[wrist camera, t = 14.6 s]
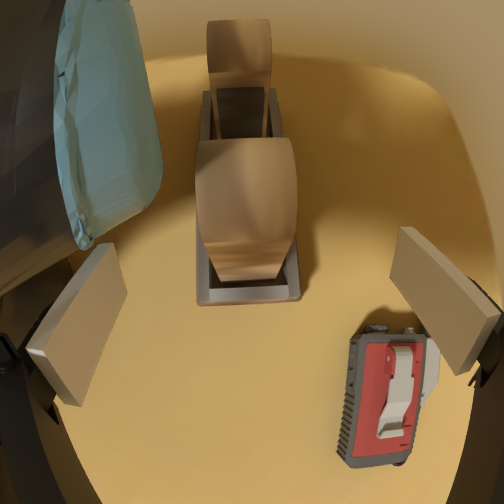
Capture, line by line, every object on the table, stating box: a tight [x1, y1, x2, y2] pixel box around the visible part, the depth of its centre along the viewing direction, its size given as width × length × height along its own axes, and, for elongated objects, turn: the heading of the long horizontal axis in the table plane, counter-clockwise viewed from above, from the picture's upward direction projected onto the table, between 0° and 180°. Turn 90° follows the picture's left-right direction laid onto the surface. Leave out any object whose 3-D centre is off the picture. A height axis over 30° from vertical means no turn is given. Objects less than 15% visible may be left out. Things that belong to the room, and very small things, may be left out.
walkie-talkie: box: [336, 325, 441, 468], centre depth 21 cm, size 9×4×20 cm
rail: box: [196, 19, 302, 306], centre depth 20 cm, size 8×20×14 cm, turn 3°
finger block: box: [195, 137, 298, 284], centre depth 18 cm, size 4×6×12 cm
